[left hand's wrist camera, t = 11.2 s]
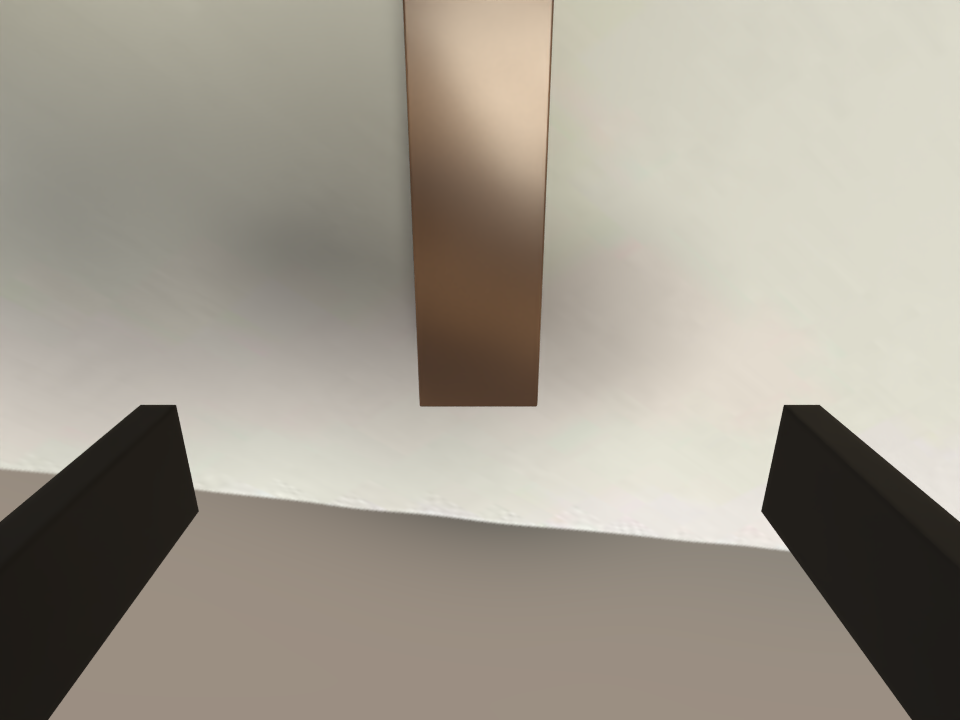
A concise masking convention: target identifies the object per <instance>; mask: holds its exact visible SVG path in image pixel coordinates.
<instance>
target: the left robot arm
mask: <svg viewBox="0 0 960 720" xmlns="http://www.w3.org/2000/svg"><path fill="white" fill-rule="evenodd" d="M761 512H762V513H763V514H764V516H765V517H766V518H767V520H768V521H769V523H770V524H771V525H772V527H773V528H774V530H775V531H776V532H777V534H778V535H779V536H780V538H781V539H782V541H783V542H784V543H785V545H786V546H787V548H788V549H789V550H790V552H791V553H792V554H793V556H794V557H795V559H796V560H797V561H798V563H799V564H800V566H801V567H802V568H803V570H804V571H805V572H806V574H807V575H808V577H809V578H810V579H811V581H812V582H813V583H814V585H815V586H816V588H817V589H818V590H819V592H820V593H821V594H822V596H823V597H824V599H825V600H826V601H827V603H828V604H829V606H830V607H831V608H832V610H833V611H834V613H835V614H836V615H837V617H838V618H839V619H840V621H841V622H842V624H843V625H844V626H845V628H846V629H847V631H848V632H849V633H850V635H851V636H852V637H853V639H854V640H855V642H856V643H857V644H858V646H859V647H860V649H861V650H862V651H863V653H864V654H865V655H866V657H867V658H868V660H869V661H870V662H871V664H872V665H873V667H874V668H875V669H876V671H877V672H878V673H879V675H880V676H881V678H882V679H883V680H884V682H885V683H886V685H887V686H888V687H889V689H890V690H891V691H892V693H893V694H894V696H895V697H896V698H897V700H898V701H899V702H900V704H901V705H902V707H903V708H904V709H905V711H906V712H907V714H908V715H909V716H910V718H911V719H912V720H960V522H959V521H958V520H957V519H956V518H954V517H953V516H952V515H951V514H950V513H948V512H947V511H946V510H945V509H944V508H942V507H941V506H940V505H939V504H938V503H936V502H935V501H934V500H933V499H932V498H930V497H929V496H928V495H927V494H926V493H924V492H923V491H922V490H921V489H920V488H918V487H917V486H916V485H915V484H914V483H912V482H911V481H910V480H909V479H908V478H906V477H905V476H904V475H903V474H902V473H900V472H899V471H898V470H897V469H896V468H894V467H893V466H892V465H891V464H890V463H888V462H887V461H886V460H885V459H884V458H882V457H881V456H880V455H879V454H878V453H876V452H875V451H874V450H873V449H872V448H870V447H869V446H868V445H867V444H866V443H864V442H863V441H862V440H861V439H860V438H858V437H857V436H856V435H855V434H854V433H852V432H851V431H850V430H849V429H848V428H846V427H845V426H844V425H843V424H842V423H840V422H839V421H838V420H837V419H836V418H834V417H833V416H832V415H831V414H830V413H828V412H827V411H826V410H825V409H824V408H822V407H821V406H820V405H784V407H783V412H782V417H781V421H780V426H779V431H778V435H777V440H776V445H775V449H774V454H773V459H772V463H771V468H770V473H769V478H768V482H767V487H766V492H765V496H764V501H763V506H762V510H761ZM197 513H198V506H197V501H196V496H195V492H194V487H193V482H192V478H191V473H190V468H189V464H188V459H187V454H186V449H185V445H184V440H183V435H182V431H181V426H180V421H179V417H178V412H177V407H176V405H140V406H139V407H138V408H136V409H135V410H134V411H133V412H132V413H130V414H129V415H128V416H127V417H126V418H124V419H123V420H122V421H121V422H120V423H118V424H117V425H116V426H115V427H114V428H112V429H111V430H110V431H109V432H108V433H106V434H105V435H104V436H103V437H102V438H100V439H99V440H98V441H97V442H96V443H94V444H93V445H92V446H91V447H90V448H88V449H87V450H86V451H85V452H84V453H82V454H81V455H80V456H79V457H78V458H76V459H75V460H74V461H73V462H72V463H70V464H69V465H68V466H67V467H66V468H64V469H63V470H62V471H61V472H60V473H58V474H57V475H56V476H55V477H54V478H52V479H51V480H50V481H49V482H48V483H46V484H45V485H44V486H43V487H42V488H40V489H39V490H38V491H37V492H36V493H34V494H33V495H32V496H31V497H30V498H28V499H27V500H26V501H25V502H24V503H22V504H21V505H20V506H19V507H18V508H16V509H15V510H14V511H13V512H12V513H10V514H9V515H8V516H7V517H6V518H4V519H3V520H2V521H1V522H0V720H48V719H49V718H50V716H51V715H52V714H53V712H54V711H55V709H56V708H57V707H58V705H59V704H60V702H61V701H62V700H63V698H64V697H65V696H66V694H67V693H68V691H69V690H70V689H71V687H72V686H73V684H74V683H75V682H76V680H77V679H78V678H79V676H80V675H81V673H82V672H83V671H84V669H85V668H86V667H87V665H88V664H89V662H90V661H91V660H92V658H93V657H94V655H95V654H96V653H97V651H98V650H99V649H100V647H101V646H102V644H103V643H104V642H105V640H106V639H107V637H108V636H109V635H110V633H111V632H112V630H113V629H114V628H115V626H116V625H117V624H118V622H119V621H120V619H121V618H122V617H123V615H124V614H125V613H126V611H127V610H128V608H129V607H130V606H131V604H132V603H133V601H134V600H135V599H136V597H137V596H138V595H139V593H140V592H141V590H142V589H143V588H144V586H145V585H146V583H147V582H148V581H149V579H150V578H151V577H152V575H153V574H154V572H155V571H156V570H157V568H158V567H159V565H160V564H161V563H162V561H163V560H164V559H165V557H166V556H167V554H168V553H169V552H170V550H171V549H172V548H173V546H174V545H175V543H176V542H177V541H178V539H179V538H180V536H181V535H182V534H183V532H184V531H185V529H186V528H187V527H188V525H189V524H190V523H191V521H192V520H193V518H194V517H195V516H196V514H197Z"/></svg>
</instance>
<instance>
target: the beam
mask: <svg viewBox="0 0 960 720" xmlns="http://www.w3.org/2000/svg"><path fill="white" fill-rule="evenodd" d="M553 8H554V0H403V15H404V39H405V63H406V87H407V111H408V135H409V159H410V183H411V207H412V231H413V255H414V279H415V303H416V327H417V351H418V375H419V399H420V406H537V401H538V376H539V352H540V327H541V302H542V278H543V253H544V229H545V204H546V180H547V155H548V131H549V106H550V81H551V57H552V32H553Z"/></svg>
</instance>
